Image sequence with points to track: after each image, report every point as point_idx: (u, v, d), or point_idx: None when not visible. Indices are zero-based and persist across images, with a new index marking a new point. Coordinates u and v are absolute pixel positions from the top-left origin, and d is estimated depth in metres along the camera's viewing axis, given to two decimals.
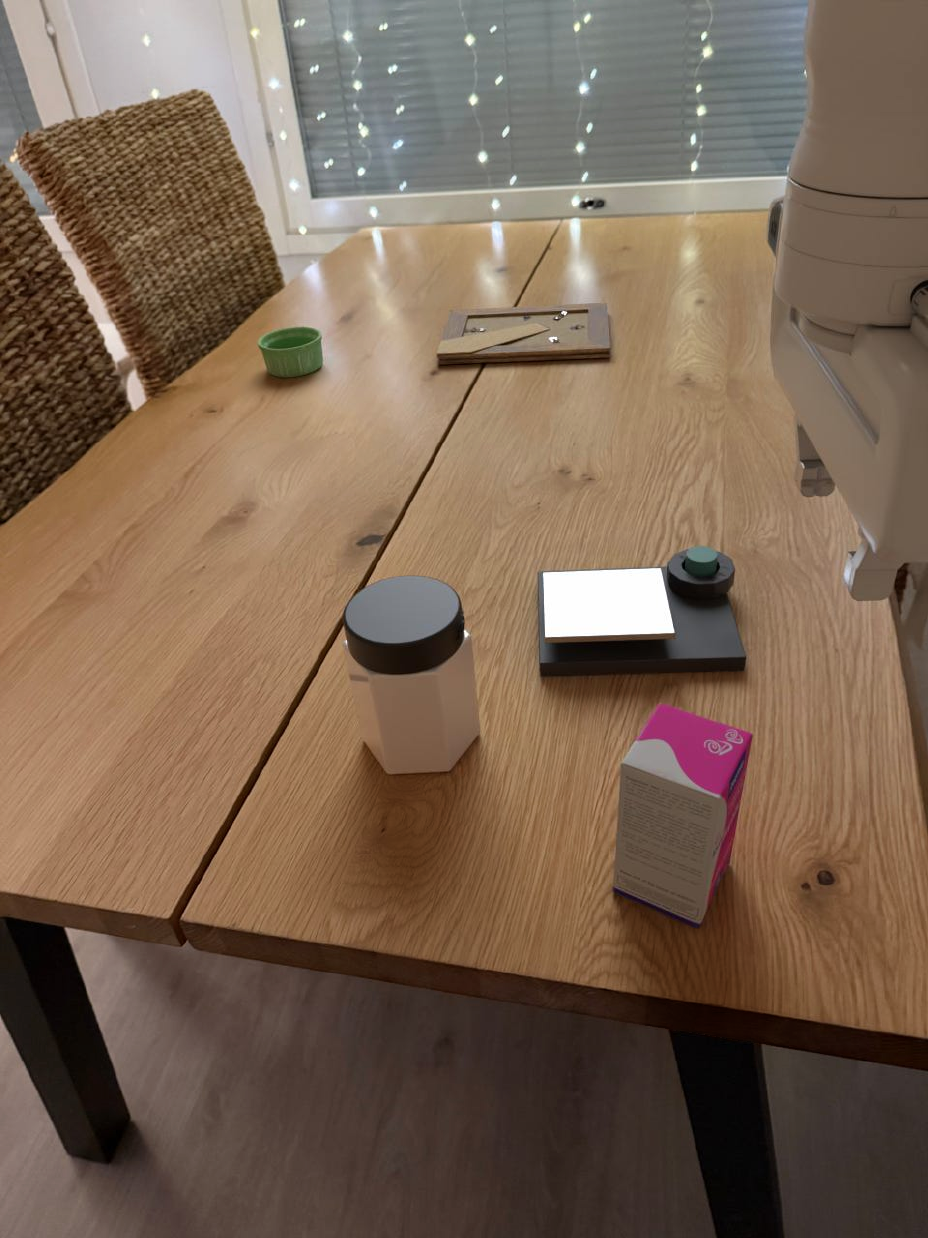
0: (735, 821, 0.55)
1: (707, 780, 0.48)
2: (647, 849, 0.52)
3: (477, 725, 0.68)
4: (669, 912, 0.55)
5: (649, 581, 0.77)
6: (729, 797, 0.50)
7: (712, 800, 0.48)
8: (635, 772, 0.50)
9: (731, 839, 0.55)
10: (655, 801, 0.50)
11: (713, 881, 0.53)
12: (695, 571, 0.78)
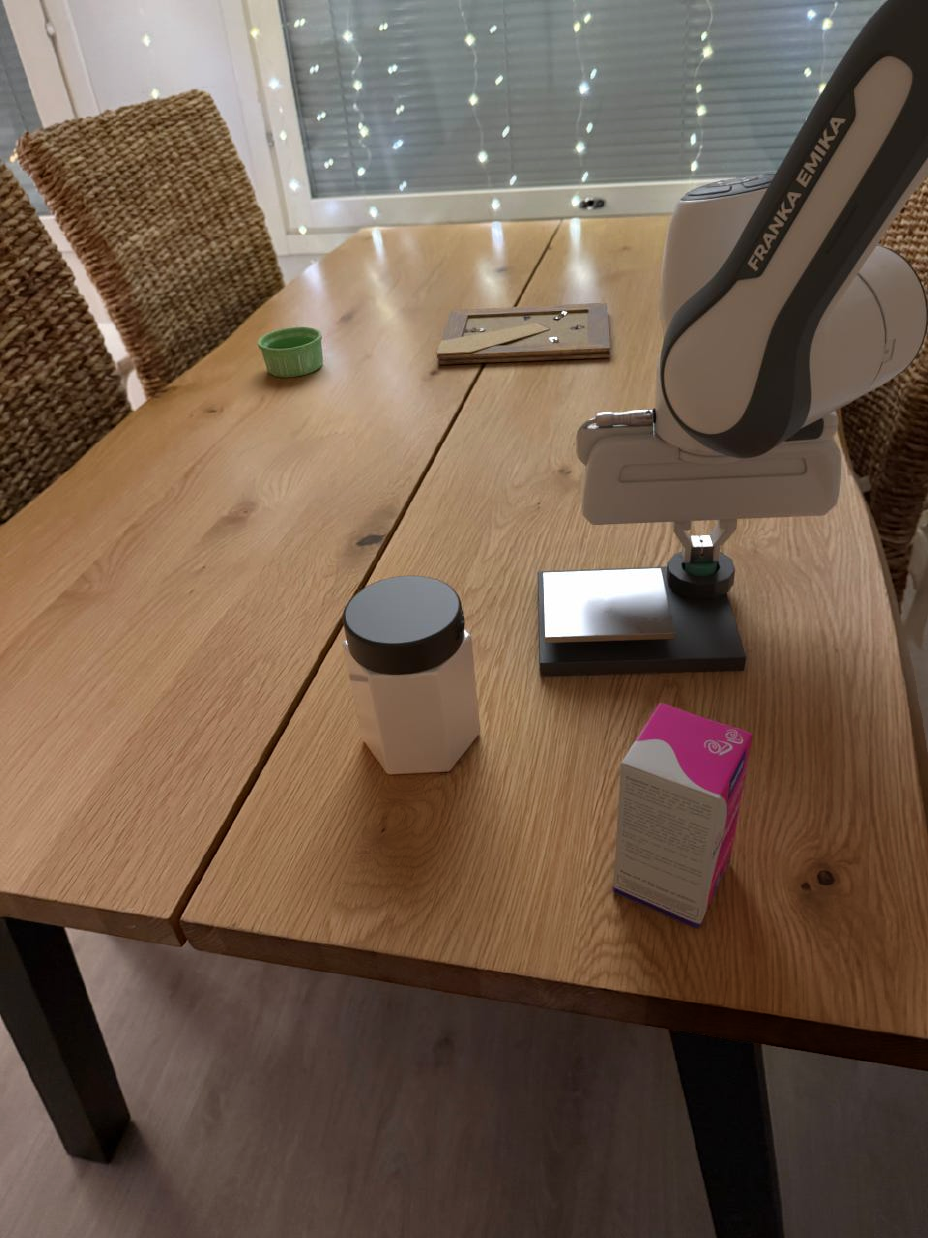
0: (735, 821, 0.55)
1: (707, 780, 0.48)
2: (647, 849, 0.52)
3: (477, 725, 0.68)
4: (669, 912, 0.55)
5: (649, 581, 0.77)
6: (729, 797, 0.50)
7: (712, 800, 0.48)
8: (635, 772, 0.50)
9: (731, 839, 0.55)
10: (655, 801, 0.50)
11: (713, 881, 0.53)
12: None
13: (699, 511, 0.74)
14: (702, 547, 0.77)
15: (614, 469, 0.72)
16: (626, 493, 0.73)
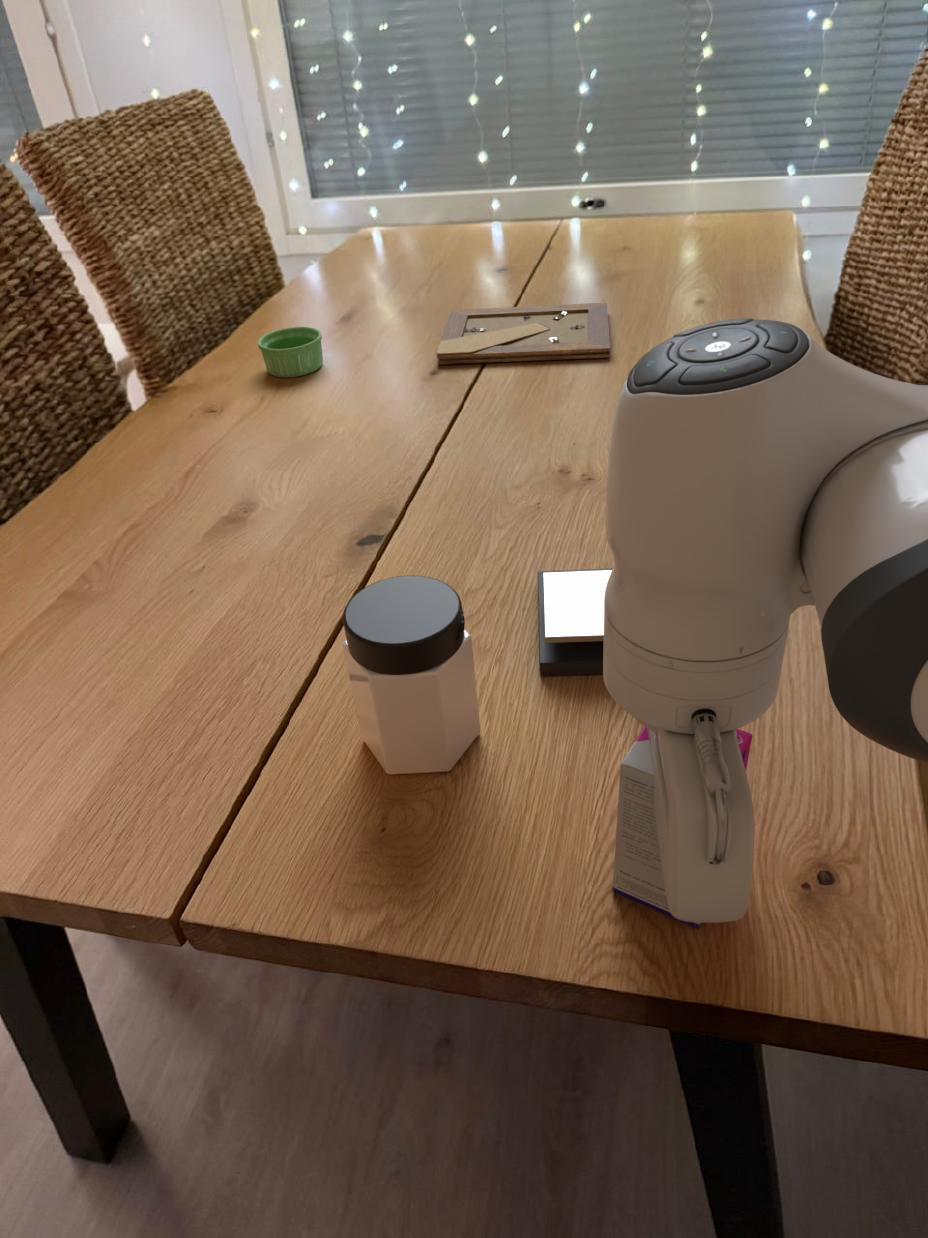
0: None
1: None
2: (647, 850, 0.52)
3: (477, 725, 0.68)
4: (669, 912, 0.55)
5: None
6: None
7: None
8: (635, 772, 0.49)
9: None
10: None
11: None
12: None
13: None
14: None
15: None
16: None
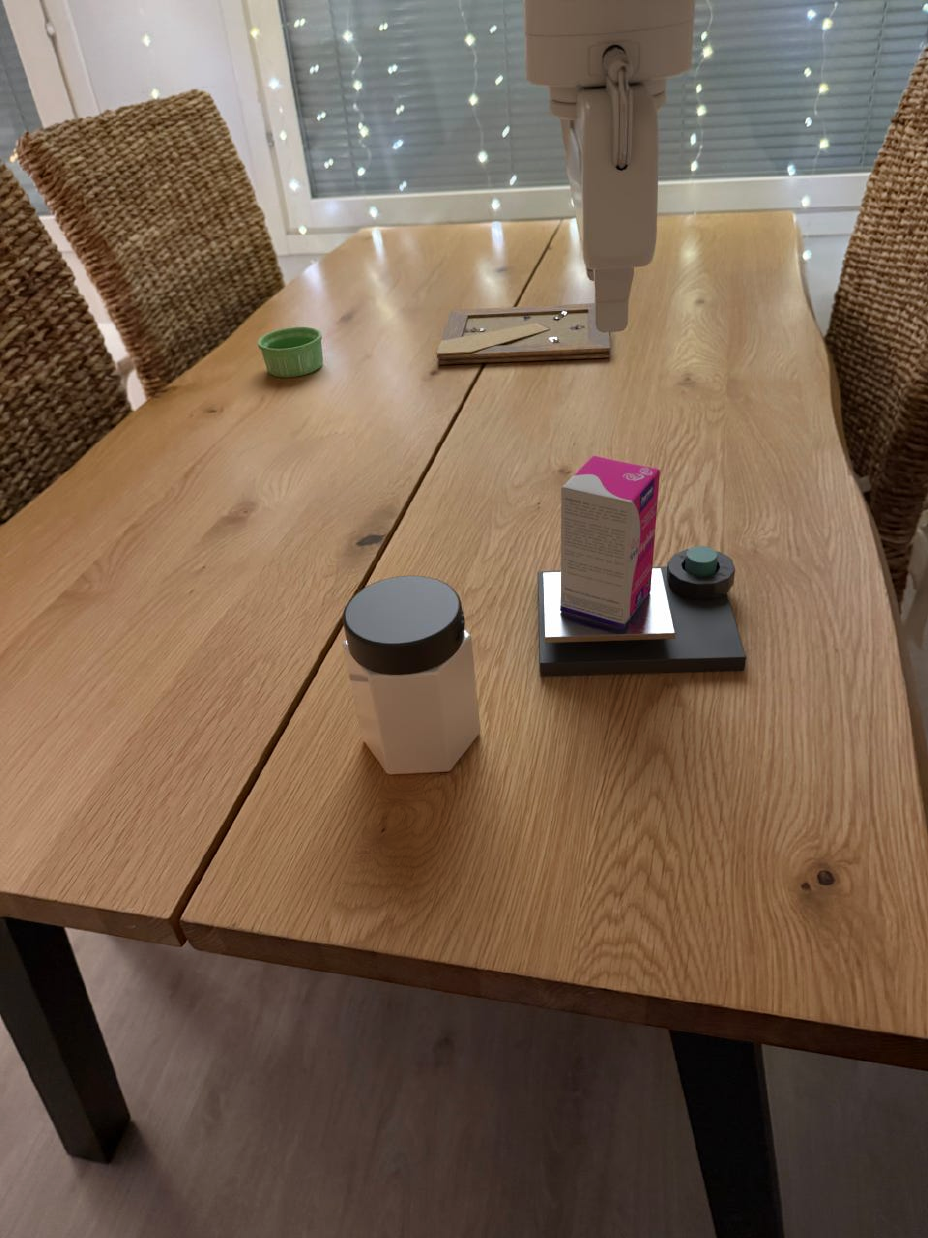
0: (651, 548, 0.72)
1: (623, 493, 0.66)
2: (583, 562, 0.70)
3: (477, 725, 0.68)
4: (602, 618, 0.72)
5: None
6: (641, 511, 0.67)
7: (626, 505, 0.65)
8: (571, 492, 0.67)
9: (649, 565, 0.73)
10: (586, 515, 0.67)
11: (633, 589, 0.71)
12: (695, 571, 0.78)
13: None
14: None
15: None
16: None
